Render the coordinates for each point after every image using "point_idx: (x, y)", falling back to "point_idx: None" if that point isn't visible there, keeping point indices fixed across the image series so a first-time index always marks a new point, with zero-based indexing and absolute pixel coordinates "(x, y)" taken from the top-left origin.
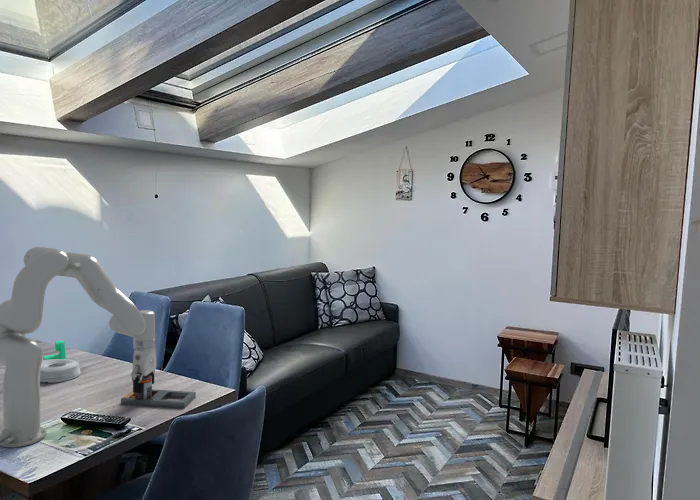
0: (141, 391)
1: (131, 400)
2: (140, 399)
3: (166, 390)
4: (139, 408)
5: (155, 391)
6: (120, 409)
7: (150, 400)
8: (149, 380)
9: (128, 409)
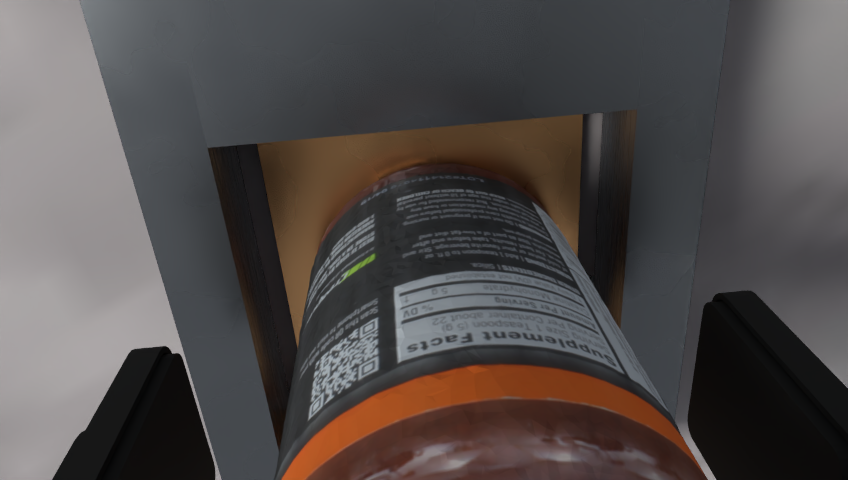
0: (759, 301)
1: (673, 349)
2: (671, 239)
3: (94, 14)
4: (782, 136)
5: (224, 209)
6: (812, 346)
7: (713, 41)
8: (566, 386)
9: (816, 259)
